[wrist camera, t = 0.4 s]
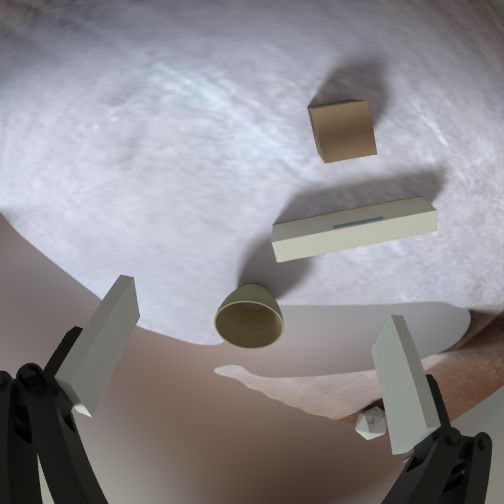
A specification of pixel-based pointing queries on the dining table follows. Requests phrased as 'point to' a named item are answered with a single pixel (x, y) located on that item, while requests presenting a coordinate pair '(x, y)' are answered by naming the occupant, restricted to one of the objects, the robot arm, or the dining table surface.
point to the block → (343, 130)
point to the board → (353, 228)
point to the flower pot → (249, 318)
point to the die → (372, 423)
